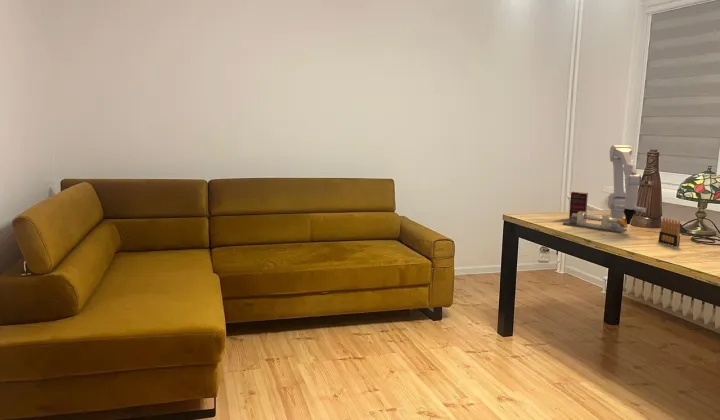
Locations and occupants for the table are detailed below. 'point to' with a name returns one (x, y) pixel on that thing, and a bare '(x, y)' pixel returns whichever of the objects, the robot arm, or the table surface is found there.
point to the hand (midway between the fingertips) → (628, 224)
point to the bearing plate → (604, 224)
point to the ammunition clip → (670, 232)
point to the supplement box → (578, 203)
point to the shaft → (610, 220)
